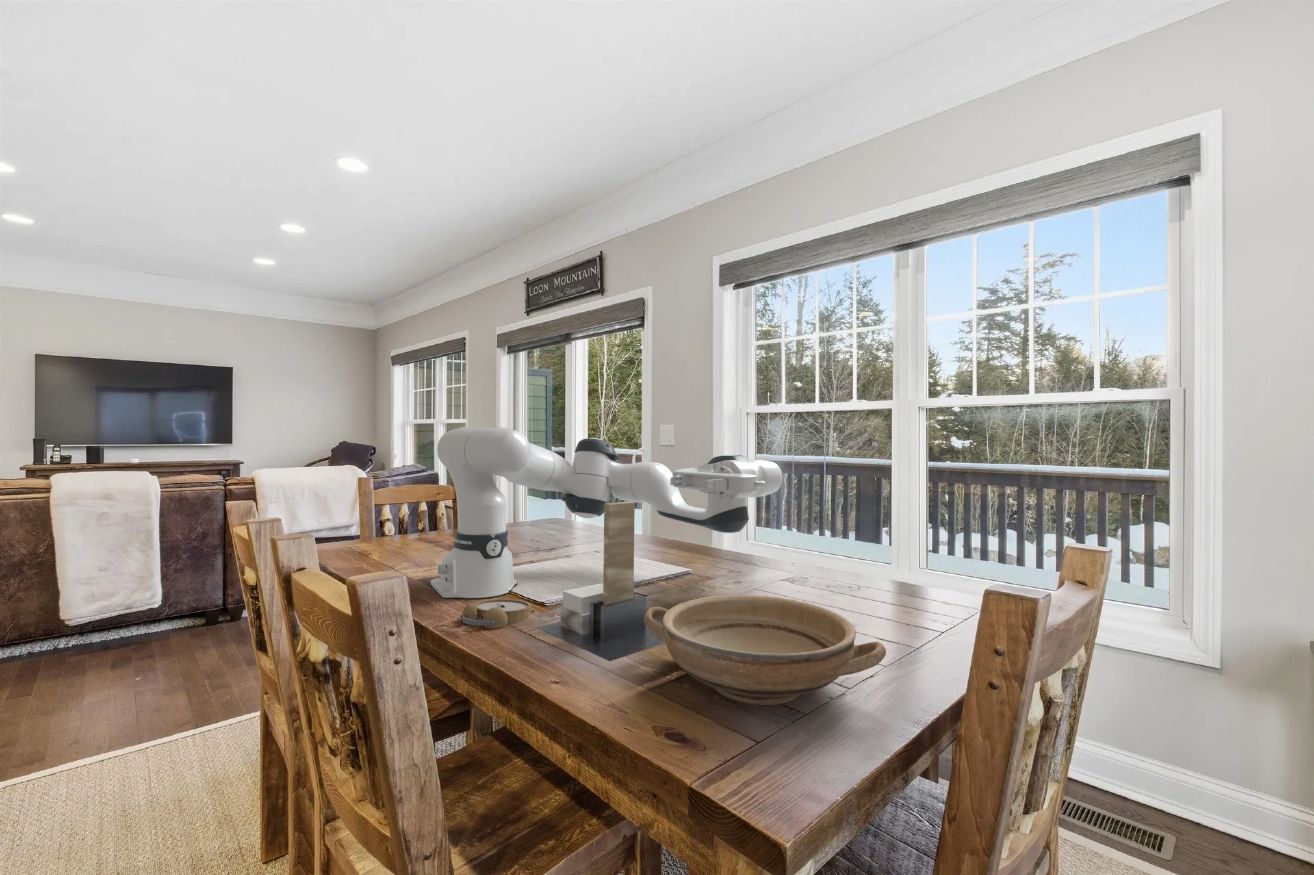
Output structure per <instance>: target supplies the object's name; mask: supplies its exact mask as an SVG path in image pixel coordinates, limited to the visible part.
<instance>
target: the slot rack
mask: <svg viewBox="0 0 1314 875" xmlns="http://www.w3.org/2000/svg"><path fill="white" fill-rule="evenodd" d="M635 596H636V593H634V594H633V598H632V599H628V600H624V601H620V602H616V603H612V604H607V605H603V599H602V600H597V601H593V602H590V633H587V634H584V635H581V634H579V633H577V632H574V631H572V630H570V629H567V628H565V627H563V626H561V621H558V622H553V623H550V624H546V625H541V626H538V627H536V628H537V629H538V630H541V631H542V632H545V633H547V634H549V635H552V636H554V637H556V638H558V639H561V640H563V641H565V642H567V643H569V644H572V645H574V646H576V647H577V648H580V649H582V650H585V651H587V652H589V653H590V654H593V655H594V656H598V657H600V658H602V659H604V660H605V661H608V662H612V661H616V660H618V659H621V658H625V657H628V656H632V655H633V654H636V653H640V652H642V651H645V650H649V649H651V648H654V647H658V646H661V645H665V644H666V643H665V642H663V641H662V640H661V639H660V638H658V637H657V636H656V635H655V634H653V633H652V632H651V631H650V630H649V629H648V628H647V626H646V625H645V623H644V615H645V613H646V611H647V610H646V609H647V596H644V595H641V596H637V597H635ZM654 620H655V621H656V622H657V623H658V624H659V625H661V626H662V627H664V625H663V621H659V620H657V619H654ZM664 628H665V627H664Z"/></svg>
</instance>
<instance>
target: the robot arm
mask: <svg viewBox="0 0 1314 875" xmlns="http://www.w3.org/2000/svg"><path fill="white" fill-rule="evenodd" d="M436 451H437V457H438V459H439V461H440V463H442V465H443V466H444V467H445V468H446V470H447V471H448V473H449V475H450V478H451V481H452V483H453V487H454V490H455V495H456V501H457V502H456V503H457V531H456V532H454V535H455V536H454V541H453V548H452V550H451V551H450V552H449V553H448V554H447V555H446V556H445V557H444V558H443V559H442V561H441V564H439V565H438V566H437V572H438V575H440V576H439V577H436V578H434V579H431V580H430V586H432V588H433V589H434V590H435V591H436V592H437V593H438V594H439V595H440V596H441V597H442V598H445V599H446V598H449V599H451V598H462V599H481V598H482V599H483V598H484V599H485V598H490V597H497V596H502V595H504V594H508V593H510V592H509V588H511V586H512V585H513V584H515V583H516V582H518V579H514V567H513V566H514V565H513V555H512V552H511V551H510V550H509V549H508V547H507V546H508V545H509V531H508V529H507V499H506V496H505V495H504V494H503V492H502V491H500V489H499V487H497V485H496V483H495V481H494V477H493V476H499V477H502V478H505V479H506V480H507V482H509V483H512V484H515V485H519V486H522V487H523V486H524V487H527V488H530V489H534V490H538V491H545V492H560V493H563V496H562V497H560V499H561V501H562V502H564V503H565V505H566V508H567V509H568V510H569V511H570V512H571V513H572V514H574V515H576V516H577V517H579V518H583V519H593V518H597V517H601V516H602V515H604V504H608V502H607V501H608V499H609V498H608V497H609V495H610V494H609V493H611V494H612V496H613V497H615V498H616V499H618V500H621V501H623V502H635V503H639V504H640V503H643V504H649V505H650V506H652V507H653V508H654V509H655V510H656V512H657V514H659V515H660V516H662V517H665V518H668V519H671V520H673V521H674V520H675V521H678V522H683V523H686V524H689V525H695V526H699V527H703V528H705V529H708V530H710V531H714V532H715V531H716V532H718V533H721V534H735V533H739V532H741V531H742V530H743V529H744V528H745V526H746V525H747V524H748V522H749V519H750V517H749V511H748V506H747V499H748V498H751V499H752V498H760V497H765V496H769V495H771V494H774V493H776V492H778V491H779V490H780V488H781V486H782V483H783V474H782V470H781V468H780V466H779V464H777V463H776V462H774V461H772V460H766V459H753V458H752V459H749V458H747V457H746V456H744V455H742V454H737V455H736V454H735V455H719V456H718V455H717V456H714V457H712V458H711V459H710V460H709V461H708V462H707V463H700V464H699V466H694V467H686V468H681V469H680V468H679V469H676V470H674V471H673V472H672V471H671V470H670V469H669V468H668V467H667V465H664V464H662V463H661V462H655V461H639V462H632V463H626V464H625V463H619V462H617V460H619V459H620V458H621V457H620V455H619V453H617V452H616V450H615V449H614V447H613V446H612V445H611V444H610V443H609V441H606V440H603V439H601V438H598V437H589V438H583V439H581V440H579V441H578V443H577V445H576V447H575V449H574V453H575V454H574V457H573V460H572V461H573V462H572V465H571V464H570V462H569V461H568V460H566V459H565V458H564V457H562V455H560V454H558V453H556V452H554V451H552V450H549V449H547V448H545V447H542V446H541V445H537V444H534V443H531V442H530V441H529V438H527V436H526V435H525V434H524V433H522V432H520V431H519V430H518V431H517V430H515V429H510V428H507V427H498V426H497V427H489V426H487V427H484V426H463V427H458V428H454V429H451V430H448V431H447V432H444V434H442V436H441V437H440V438H439V441H438V443H437V449H436ZM679 488H680V489H689V490H698V492H700V493H705V501H706V502H705V503H706V507H705V508H702V507H696V506H692V505H689V504H687V503H686V501H685V500H684V498H683V496H682V494H681V492H680V489H679Z"/></svg>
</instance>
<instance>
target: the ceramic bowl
mask: <svg viewBox="0 0 1314 875" xmlns="http://www.w3.org/2000/svg"><path fill="white" fill-rule="evenodd" d="M654 618H658V619H659V618H660V619H662V622H663V625H664V627H665V628H664V627H662V626H661V625H659V624H658V623H657V622H656V621H655V620H656V619H654ZM644 623H645V625H646V626H647V628H648V629H649V630H650V631H651V632H652V633H653V634H655V635H656V636H657V637H658V638H660V639H661V640H662V641H663V642H665V643H664V644H665V645H666V648H667V649H668V652H669V654H670V656H671V658H672V660H673V661H674V662H675V663H676V664H677V666H679V668H680V669H681V670H682V671H683V672H684V673H686V674H688V675H689V677H692V678H693V679H695V680H696V681H699V682H701V683H703V684H705V685H707V686H708V687H712V688H714V689H715V690H716V692H718V693H719V694H720V695H721V696H723V697H724V698H727V699H730V700H732V701H735V702H737V703H738V702H739V703H742V704H747V705H755V706H774V705H776V706H777V705H782V704H786V703H788V702H791V701H793V700H794V699H796V698H797V697H798V696H801V695H805V694H809V693H812V692H816V691H818V690H821V689H823V688H825V687H827V686H828V685H830V684H832V683H834V682H835V681H836V680H838V678H840V677H843V676H846V675H847V676H848V675H853V674H858V673H861V672H863V671H867V670H869V669H871V668H875V667H876V666H878V664H880V663H881V662H882V661H883V660H884V659H885V658H886V655H887V650H886V647H885V645H884V644H883V643H881V642H880V641H871V642H866V643H862V644H855V640H856V637H857V631H856V628H855V625H853V624H852V623H851V622H850V621H849V620H848V619H847V618H846V617H844V616H842V615H841V614H839V613H837V612H835V611H833V610H830V609H828V608H825V607H823V606H820V605H816V604H813V603H809V602H806V601H800V600H795V599H791V598H784V597H777V596H776V597H775V596H768V595H756V594H755V595H752V594H750V595H749V594H728V595H727V594H726V595H713V596H706V597H698V598H695V599H692V600H691V599H690V600H687V601H685V602H681V603H678V604H677V605H675V606H672V607H671V608H669V609H667V608H666V607H665V608H664V607H661V606H651V607H648V609H647V610H646V613H645V615H644Z"/></svg>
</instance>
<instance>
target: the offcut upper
mask: <svg viewBox="0 0 1314 875" xmlns="http://www.w3.org/2000/svg"><path fill="white" fill-rule="evenodd" d="M602 599H603V582H601V583H597V584H596V583H595V584H592V585H591V584H590V585H586V586H581V587H576V588H572V589H568V590H563V591H562V607H565V608H567V609H570V610H572V611H575V612H578V613H580V614H584V613H588V612H590V602H593V601H597V600H602Z"/></svg>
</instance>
